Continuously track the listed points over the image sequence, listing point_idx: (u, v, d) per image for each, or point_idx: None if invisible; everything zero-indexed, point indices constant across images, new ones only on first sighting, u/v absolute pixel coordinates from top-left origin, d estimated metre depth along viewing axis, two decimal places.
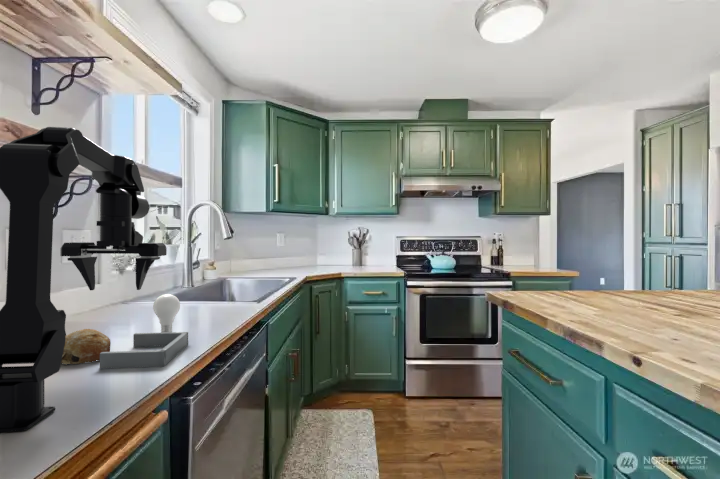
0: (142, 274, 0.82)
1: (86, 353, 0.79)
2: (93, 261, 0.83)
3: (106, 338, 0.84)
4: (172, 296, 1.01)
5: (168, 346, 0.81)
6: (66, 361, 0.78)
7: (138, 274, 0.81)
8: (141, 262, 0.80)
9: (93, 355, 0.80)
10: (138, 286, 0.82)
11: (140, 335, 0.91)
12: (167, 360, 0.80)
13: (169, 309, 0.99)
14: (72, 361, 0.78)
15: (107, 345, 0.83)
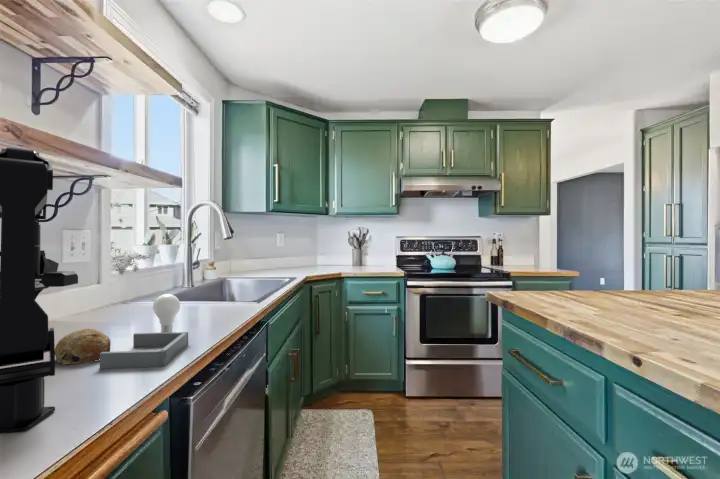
0: None
1: (86, 353, 0.79)
2: None
3: (106, 337, 0.84)
4: (172, 296, 1.01)
5: (168, 346, 0.81)
6: (66, 361, 0.78)
7: None
8: None
9: (93, 355, 0.80)
10: None
11: (140, 335, 0.91)
12: (167, 360, 0.80)
13: (169, 309, 0.99)
14: (72, 361, 0.78)
15: (107, 345, 0.83)
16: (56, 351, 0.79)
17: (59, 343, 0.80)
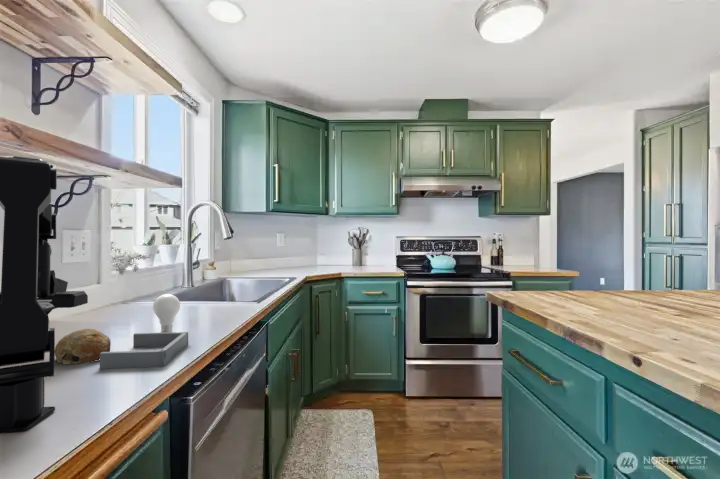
0: None
1: (86, 353, 0.79)
2: None
3: (106, 337, 0.84)
4: (172, 296, 1.01)
5: (168, 346, 0.81)
6: (66, 361, 0.78)
7: None
8: None
9: (93, 355, 0.80)
10: None
11: (140, 335, 0.91)
12: (167, 360, 0.80)
13: (169, 309, 0.99)
14: (72, 361, 0.78)
15: (107, 345, 0.83)
16: (56, 351, 0.79)
17: (59, 343, 0.80)
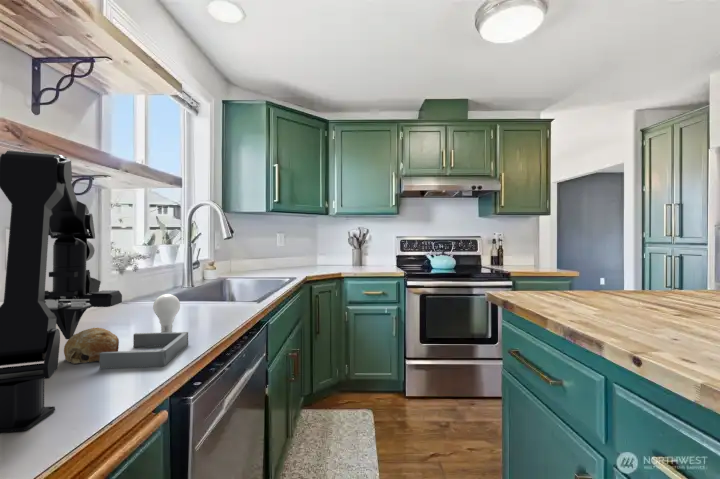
0: (72, 324, 0.82)
1: (96, 352, 0.79)
2: None
3: (114, 336, 0.85)
4: (172, 296, 1.01)
5: (168, 346, 0.81)
6: (76, 360, 0.78)
7: (68, 324, 0.81)
8: (70, 312, 0.80)
9: None
10: (69, 335, 0.82)
11: (140, 335, 0.91)
12: (167, 360, 0.80)
13: (169, 309, 0.99)
14: (82, 360, 0.79)
15: (116, 344, 0.83)
16: (65, 350, 0.79)
17: (68, 342, 0.80)
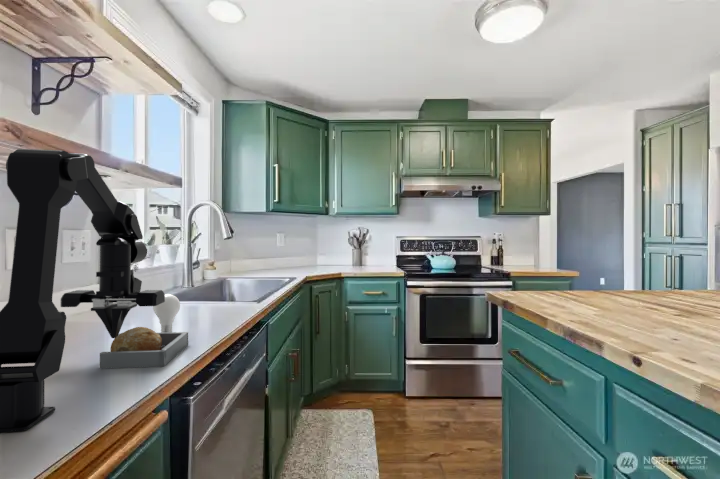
0: (118, 323, 0.83)
1: (143, 350, 0.80)
2: None
3: (158, 335, 0.86)
4: (172, 296, 1.01)
5: (168, 346, 0.81)
6: None
7: (114, 323, 0.82)
8: (117, 312, 0.81)
9: None
10: (115, 334, 0.83)
11: None
12: (167, 360, 0.80)
13: (169, 309, 0.99)
14: None
15: (160, 343, 0.85)
16: (113, 349, 0.80)
17: (115, 341, 0.81)
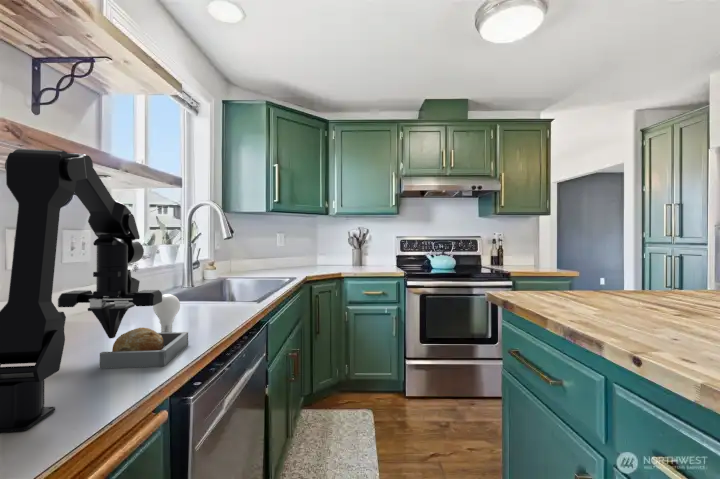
0: (116, 323, 0.83)
1: None
2: None
3: (160, 336, 0.86)
4: (172, 296, 1.01)
5: (168, 346, 0.81)
6: None
7: (112, 323, 0.82)
8: (114, 312, 0.81)
9: None
10: (112, 335, 0.83)
11: None
12: (167, 360, 0.80)
13: (169, 309, 0.99)
14: None
15: (162, 343, 0.85)
16: (115, 349, 0.80)
17: (117, 342, 0.81)
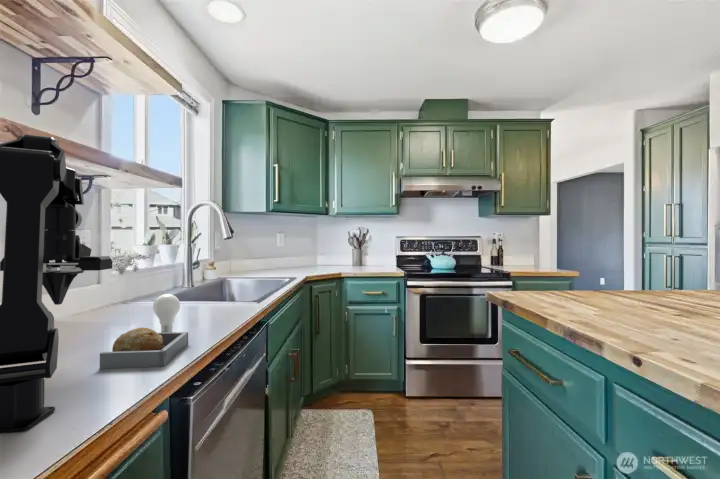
0: (62, 288, 0.80)
1: None
2: None
3: (160, 336, 0.86)
4: (172, 296, 1.01)
5: (168, 346, 0.81)
6: None
7: (57, 288, 0.79)
8: (59, 276, 0.79)
9: None
10: (58, 301, 0.80)
11: None
12: (167, 360, 0.80)
13: (169, 309, 0.99)
14: None
15: (162, 343, 0.85)
16: (115, 349, 0.80)
17: (117, 341, 0.81)
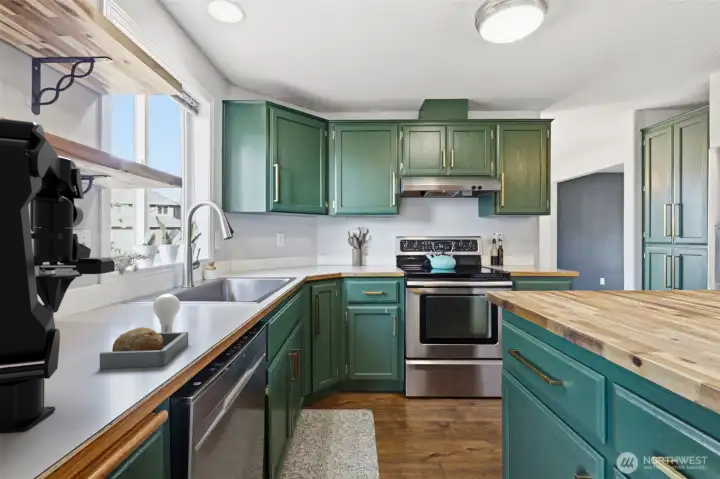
0: (57, 294, 0.70)
1: None
2: None
3: (160, 336, 0.86)
4: (172, 296, 1.01)
5: (168, 346, 0.81)
6: None
7: (52, 295, 0.69)
8: (54, 281, 0.69)
9: None
10: (53, 308, 0.70)
11: None
12: (167, 360, 0.80)
13: (169, 309, 0.99)
14: None
15: (162, 343, 0.85)
16: (115, 349, 0.80)
17: (117, 341, 0.81)
